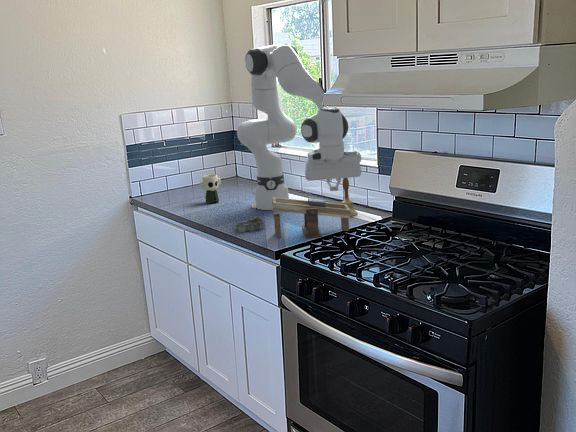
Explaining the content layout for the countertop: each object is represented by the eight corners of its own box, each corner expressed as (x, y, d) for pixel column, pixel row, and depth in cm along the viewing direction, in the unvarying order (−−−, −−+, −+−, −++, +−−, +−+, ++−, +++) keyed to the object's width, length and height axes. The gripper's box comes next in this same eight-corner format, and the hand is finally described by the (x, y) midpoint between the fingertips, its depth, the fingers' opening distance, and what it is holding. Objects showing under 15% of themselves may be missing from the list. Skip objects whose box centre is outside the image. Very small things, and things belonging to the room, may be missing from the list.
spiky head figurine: (205, 205, 272) (203, 178, 269) (198, 203, 278) (195, 176, 275) (226, 201, 278) (223, 174, 275) (218, 199, 284) (216, 173, 281)
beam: (271, 205, 218) (272, 197, 217) (345, 212, 220) (346, 204, 220) (272, 210, 209) (273, 202, 209) (349, 218, 212) (350, 210, 211)
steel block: (307, 207, 217) (308, 197, 216) (323, 208, 218) (324, 199, 217) (308, 210, 212) (309, 200, 211) (324, 211, 213) (325, 202, 212)
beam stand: (274, 230, 223) (272, 203, 221) (344, 224, 224) (343, 197, 222) (276, 240, 209) (274, 212, 207) (351, 234, 210) (349, 206, 208)
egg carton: (261, 225, 233) (260, 215, 232) (266, 229, 226) (265, 219, 225) (235, 228, 230) (234, 218, 229) (238, 233, 223) (238, 223, 222)
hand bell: (349, 217, 234) (348, 178, 230) (333, 215, 240) (331, 176, 236) (361, 213, 240) (360, 174, 236) (345, 210, 246) (343, 173, 242)
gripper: (359, 149, 213) (360, 186, 217) (303, 153, 213) (305, 191, 216) (362, 151, 207) (363, 190, 211) (304, 156, 207) (307, 194, 210)
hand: (334, 190), depth 213 cm, fingers closed
